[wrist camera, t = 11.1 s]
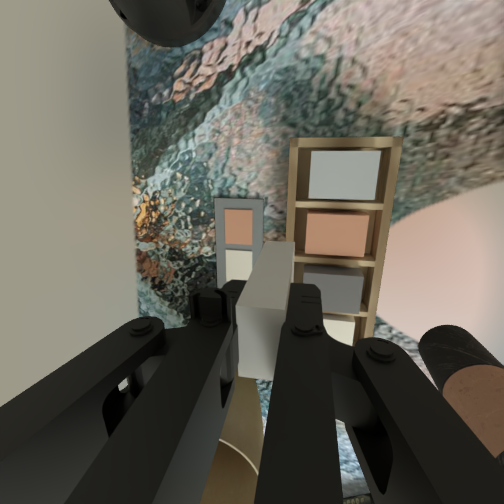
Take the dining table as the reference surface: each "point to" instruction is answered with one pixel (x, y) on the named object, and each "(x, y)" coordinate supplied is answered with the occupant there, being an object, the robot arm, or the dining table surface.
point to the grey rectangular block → (336, 287)
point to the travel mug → (468, 382)
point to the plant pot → (237, 449)
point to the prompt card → (237, 237)
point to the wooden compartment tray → (375, 209)
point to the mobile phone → (359, 499)
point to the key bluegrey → (344, 174)
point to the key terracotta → (336, 232)
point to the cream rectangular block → (340, 327)
